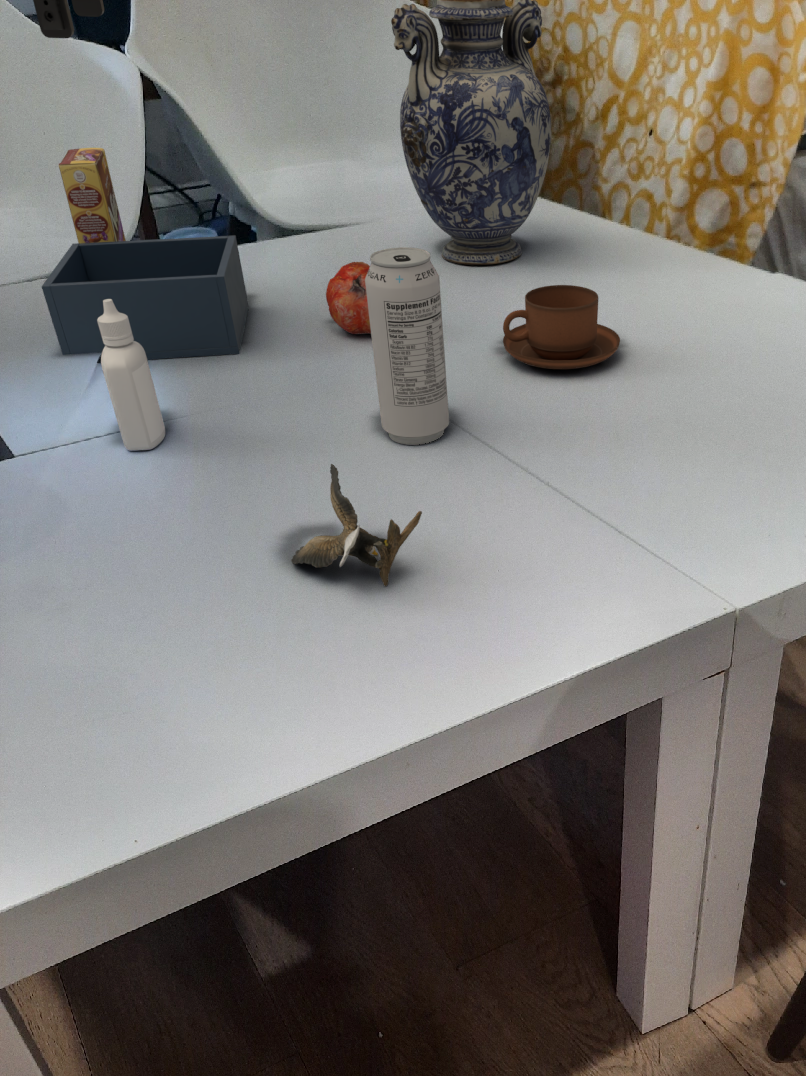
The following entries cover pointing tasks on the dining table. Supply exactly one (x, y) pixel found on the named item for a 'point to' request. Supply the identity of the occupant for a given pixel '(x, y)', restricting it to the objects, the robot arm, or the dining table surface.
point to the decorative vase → (474, 122)
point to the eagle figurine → (353, 538)
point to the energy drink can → (408, 344)
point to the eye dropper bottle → (129, 382)
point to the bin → (152, 295)
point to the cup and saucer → (560, 329)
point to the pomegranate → (350, 298)
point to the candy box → (91, 196)
